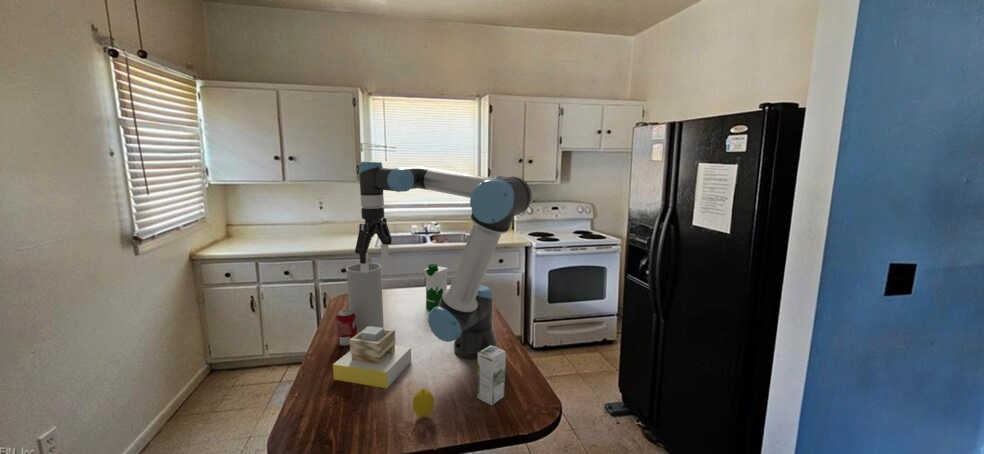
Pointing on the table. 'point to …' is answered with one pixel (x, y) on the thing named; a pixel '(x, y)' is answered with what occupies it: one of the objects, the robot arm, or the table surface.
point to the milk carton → (435, 284)
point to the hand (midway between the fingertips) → (375, 267)
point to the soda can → (346, 326)
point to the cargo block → (372, 334)
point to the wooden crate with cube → (372, 347)
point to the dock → (373, 368)
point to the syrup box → (491, 374)
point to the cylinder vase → (365, 295)
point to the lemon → (423, 403)
